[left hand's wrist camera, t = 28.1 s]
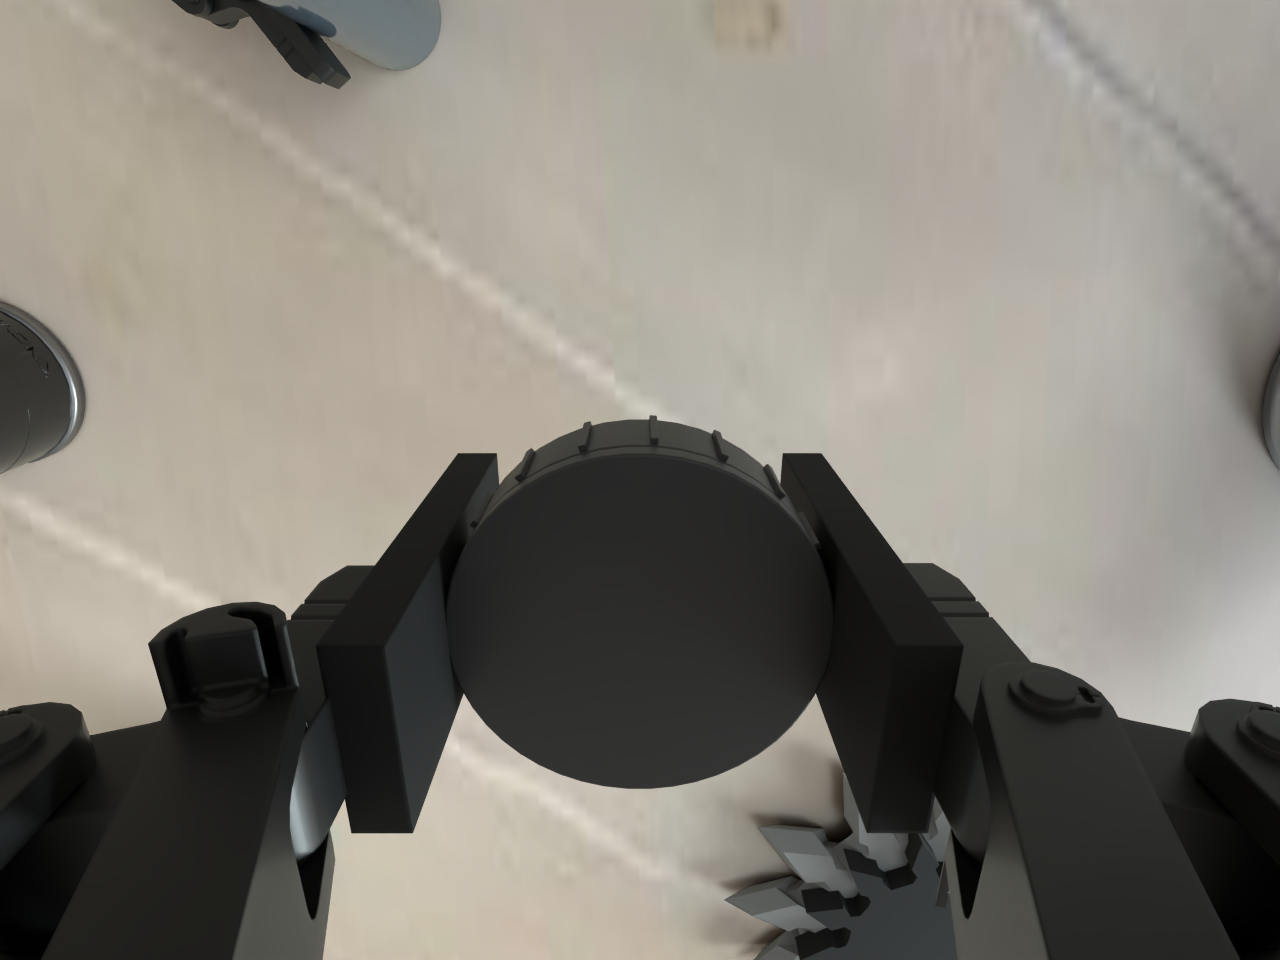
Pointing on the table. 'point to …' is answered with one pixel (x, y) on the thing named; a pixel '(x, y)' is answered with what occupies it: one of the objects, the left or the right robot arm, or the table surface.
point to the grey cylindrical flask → (371, 27)
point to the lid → (639, 606)
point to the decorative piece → (856, 893)
